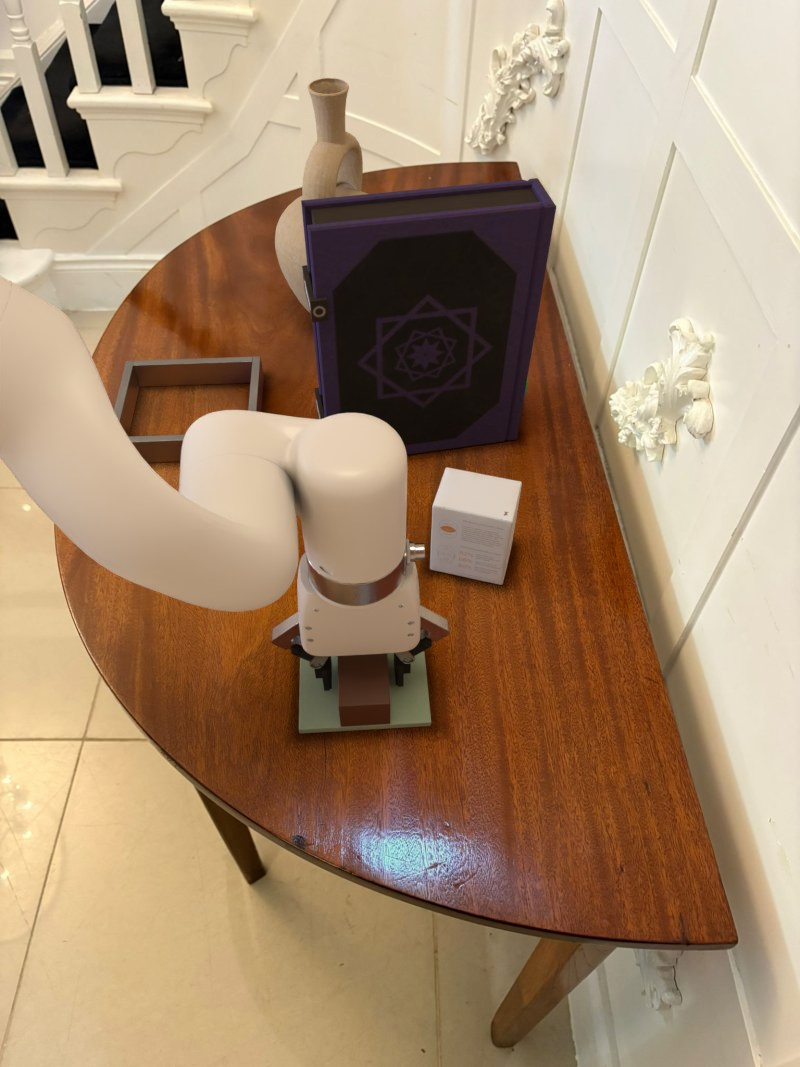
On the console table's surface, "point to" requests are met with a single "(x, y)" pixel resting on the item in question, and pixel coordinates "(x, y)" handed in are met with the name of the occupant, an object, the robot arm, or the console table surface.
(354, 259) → the book
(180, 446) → the rectangular frame
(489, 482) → the small box
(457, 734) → the console table surface
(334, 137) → the vase
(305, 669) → the mat
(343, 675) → the brown rectangular block
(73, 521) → the robot arm
